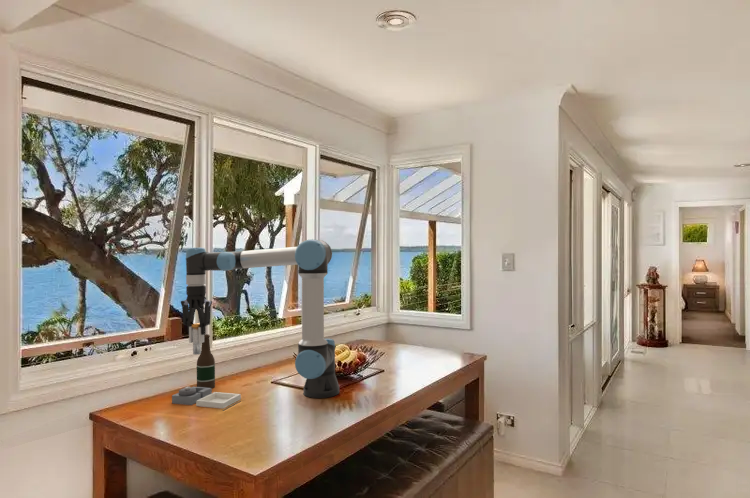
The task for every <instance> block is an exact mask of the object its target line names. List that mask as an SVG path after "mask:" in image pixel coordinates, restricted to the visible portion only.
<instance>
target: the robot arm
mask: <svg viewBox="0 0 750 498" xmlns="http://www.w3.org/2000/svg"><path fill="white" fill-rule="evenodd" d="M332 250H333V249H332V248H331V246H330V245H329V243H327V242H326V241H324V240H321V239H313V238H312V239H306V240H303V241H302V242H300V243H299V245H297V246H290V247H289V246H288V247H279V248H266V249H265V248H263V249H252V250H242V251H241V250H240V251H239V250H237V251H212V252H211V251H210V252H209V251H208V252H207V251H206V248H205V247H188V248H187V249H186V250H185V251H186V252H185V269H186V270H185V271H186V272H185V273H186V275H185V281H186V282H185V284H186V285H187V286H186V288H185V292H186V295H187V296H186V299H184V300H181V301H180V304H181V310H182V325H184V326H187V335H188V338H189V339H188V342H189V344H191V343H192V344H193V327H192V324H194V323H195V322H194V321H195V315H196V311H197V316H198V321H199V322H198V323H200V326H199V327H198V332H199V343H201V344H202V343H203V342H204V334H206V333H207V328H206V327H207V326H209V325H210V324H211V313H212V312H211V309H212V308H211V307H212V304H213V301H212V300H208V299H207V297H206V294H207V291H206V290H207V286H206V284H207V280H206V278H207V275H206V273H207V272H208V271H217V272H219V271H221V272H225V271H232V270H240V269H243V270H244V269H251V268H253V269H255V268H268V267H281V266H282V267H283V266H295V265H296V266H297V275H299V276H300V278H301V339H300V340H299V341H298V343H297V344H298V346H297V355H296V358H295V360H294V367H295V370H296V372H297V374H299V375H300V376H301V377H302V378H304V379H305V382H304V385H303V393H302V394H303V396H305V397H308V398H313V399H325V398H332V397H336V396H337V395H339V393H340V385H339V382H338V378H337V376H336V344H335V343H336V342H335V340H334V339H332V338H325V324H324V323H325V312H324V311H325V309H324V308H325V301H324V300H325V291H324V289H325V285H324V284H325V280H324V278H325V277H326V276H327V275H328V270H329V268H328V267H329V265H328V264H330V262H331V261H332V257H333V251H332Z"/></svg>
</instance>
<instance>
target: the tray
mask: <svg viewBox="0 0 750 498" xmlns="http://www.w3.org/2000/svg"><path fill="white" fill-rule="evenodd" d="M241 395H242V394H241V393H232V392H220V391H218V392H217V391H213V392H212V393H211V394H209V395H207V396H205V397H203V398H201V399H199V400H197V401H196V403H195V406H196V407H202V408H203V407H204V408H212V409H214V408H215V409H221V410H222V412H224V411H227V410H229V409H230V408H232V407H234V406H236V405H237V404H239V403H241V399H242V396H241Z"/></svg>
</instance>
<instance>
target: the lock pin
mask: <svg viewBox="0 0 750 498" xmlns="http://www.w3.org/2000/svg"><path fill="white" fill-rule="evenodd" d="M199 326H200V322H197V323H196V322H193V324H192V327H193V342H192V354H193V355H200V354H201V346H202V343H199V332H198V327H199Z"/></svg>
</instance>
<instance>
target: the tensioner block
mask: <svg viewBox="0 0 750 498" xmlns="http://www.w3.org/2000/svg"><path fill="white" fill-rule="evenodd" d="M211 393H213V388H205V387H197V386H192V387H191V386H184V387H183V388H181V389H179V390H178V392H177V393H175V394H172V395H171V403H172V404H174V405H175V404H176V405H186V406H193V405H196V401H197V400H199V399H201V398H203V397H205V396H207V395H209V394H211Z"/></svg>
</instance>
